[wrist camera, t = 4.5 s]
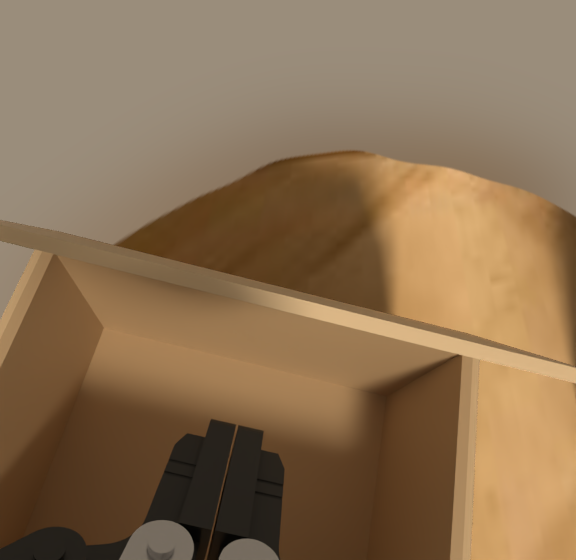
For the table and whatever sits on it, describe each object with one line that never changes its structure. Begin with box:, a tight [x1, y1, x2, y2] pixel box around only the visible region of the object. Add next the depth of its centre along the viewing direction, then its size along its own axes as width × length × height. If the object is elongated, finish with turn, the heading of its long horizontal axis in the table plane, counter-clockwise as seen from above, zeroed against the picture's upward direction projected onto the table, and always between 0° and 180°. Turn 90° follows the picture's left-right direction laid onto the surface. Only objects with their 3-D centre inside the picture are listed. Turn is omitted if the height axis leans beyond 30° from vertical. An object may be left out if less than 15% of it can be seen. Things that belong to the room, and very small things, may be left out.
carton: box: [0, 250, 480, 560], centre depth 30 cm, size 25×18×14 cm
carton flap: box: [0, 220, 576, 383], centre depth 22 cm, size 23×11×1 cm
